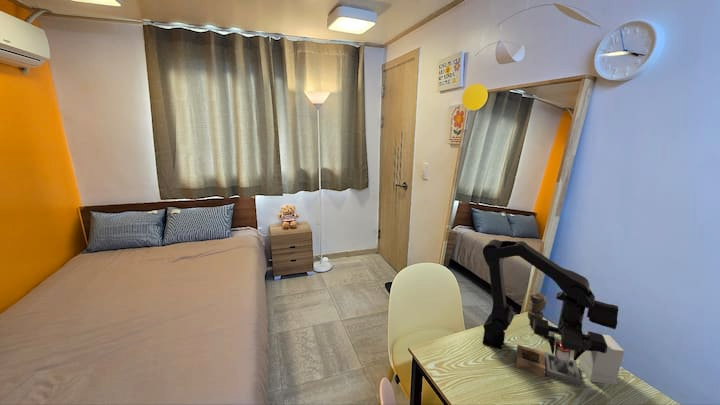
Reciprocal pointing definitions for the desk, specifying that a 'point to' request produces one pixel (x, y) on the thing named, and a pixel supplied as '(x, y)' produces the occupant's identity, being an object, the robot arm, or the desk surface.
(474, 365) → the desk surface
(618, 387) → the desk surface
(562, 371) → the grey and red cylinder
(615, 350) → the supplement box
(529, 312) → the light bulb
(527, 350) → the socket block
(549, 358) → the tray
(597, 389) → the desk surface
